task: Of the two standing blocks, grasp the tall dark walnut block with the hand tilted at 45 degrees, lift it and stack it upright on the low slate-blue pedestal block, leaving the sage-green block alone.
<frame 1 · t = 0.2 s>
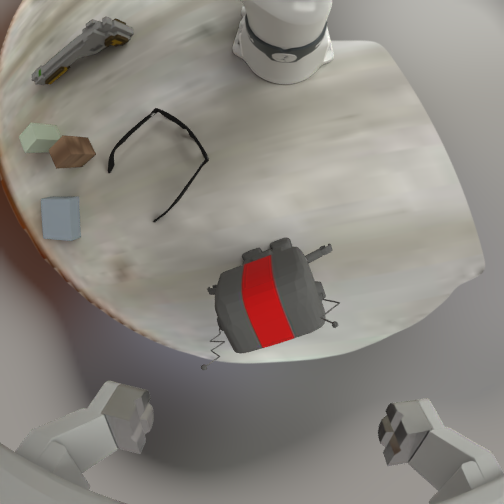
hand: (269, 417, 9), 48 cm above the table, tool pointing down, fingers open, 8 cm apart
glasses: (160, 163, 54), on the table
sage block: (53, 138, 53), on the table
toy: (86, 56, 48), on the table
walnut block: (84, 152, 53), on the table
slate pedestal: (65, 216, 58), on the table
toy robot: (269, 257, 57), on the table
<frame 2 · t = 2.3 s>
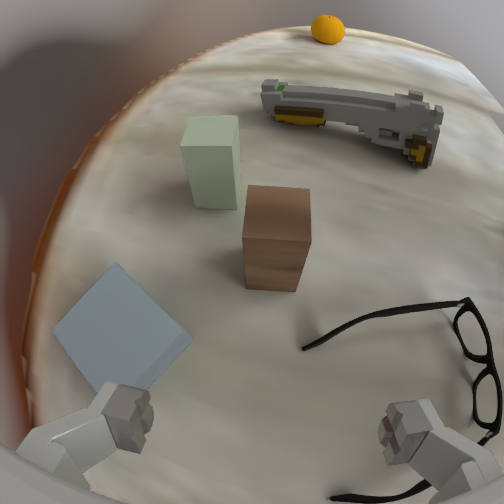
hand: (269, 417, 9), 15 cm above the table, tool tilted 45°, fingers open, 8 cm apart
glasses: (406, 399, 22), on the table
sage block: (219, 192, 33), on the table
toy: (348, 137, 38), on the table
orange: (326, 42, 56), on the table
walnut block: (271, 268, 28), on the table
slate pedestal: (128, 342, 25), on the table
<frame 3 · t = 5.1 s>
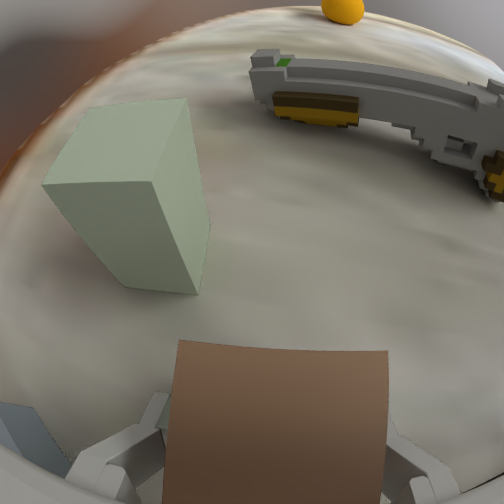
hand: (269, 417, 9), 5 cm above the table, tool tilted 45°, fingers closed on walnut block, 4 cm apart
sage block: (167, 255, 17), on the table
toy: (390, 146, 23), on the table
orange: (340, 22, 41), on the table
walnut block: (263, 425, 13), on the table, touching gripper
slate pedestal: (42, 497, 9), on the table
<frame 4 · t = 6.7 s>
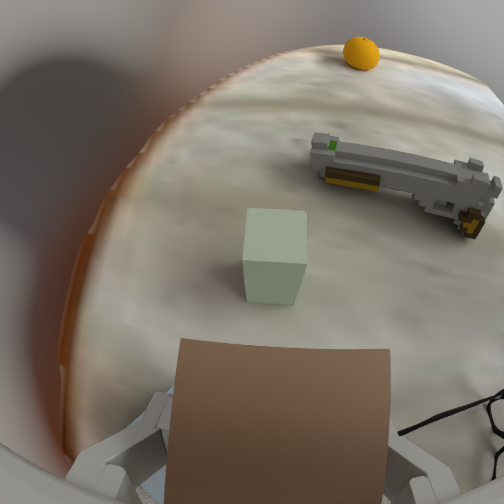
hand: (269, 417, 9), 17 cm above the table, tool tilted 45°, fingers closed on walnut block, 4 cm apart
glasses: (440, 475, 19), on the table
sage block: (271, 282, 30), on the table
toy: (398, 200, 35), on the table
orange: (358, 67, 53), on the table
walnut block: (263, 424, 13), point 12 cm above the table, touching gripper
slate pedestal: (187, 450, 22), on the table
when the fingers open (10 cm above the table, at t = 8.7 s): walnut block drops 2 cm, resting on slate pedestal.
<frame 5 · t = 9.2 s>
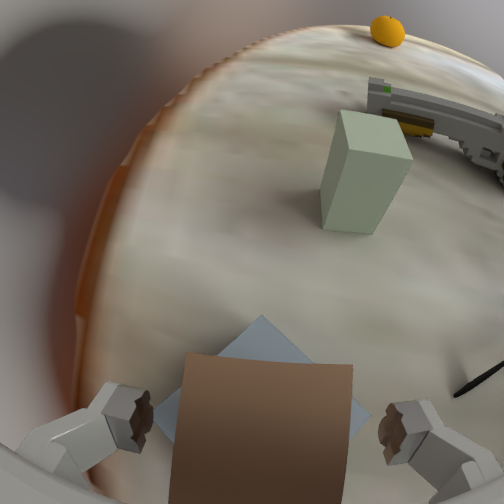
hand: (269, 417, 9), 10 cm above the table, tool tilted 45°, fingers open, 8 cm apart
sage block: (345, 210, 26), on the table
toy: (445, 152, 31), on the table
orange: (384, 44, 50), on the table
walnut block: (258, 423, 14), point 4 cm above the table, touching slate pedestal
slate pedestal: (259, 419, 18), on the table, touching walnut block
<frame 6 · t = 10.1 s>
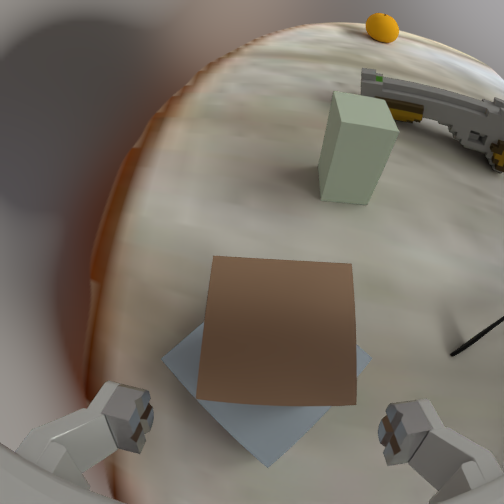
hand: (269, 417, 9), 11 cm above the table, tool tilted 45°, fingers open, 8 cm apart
sage block: (341, 184, 28), on the table
toy: (435, 136, 33), on the table
orange: (379, 40, 52), on the table
walnut block: (267, 367, 16), point 4 cm above the table, touching slate pedestal
slate pedestal: (265, 370, 20), on the table, touching walnut block
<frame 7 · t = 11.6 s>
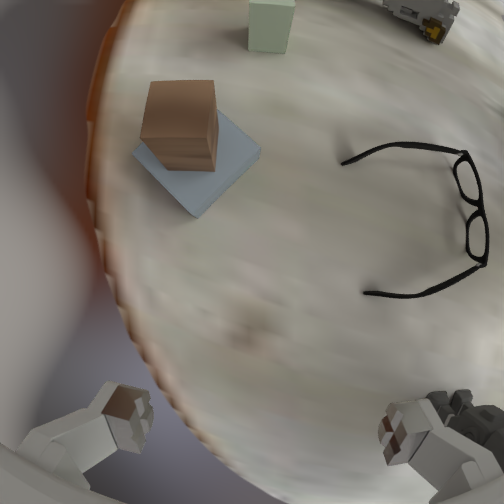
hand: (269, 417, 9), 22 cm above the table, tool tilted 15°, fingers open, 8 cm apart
glasses: (417, 217, 32), on the table
sage block: (267, 39, 30), on the table
toy: (371, 6, 31), on the table
walnut block: (193, 148, 27), point 4 cm above the table, touching slate pedestal
slate pedestal: (199, 160, 31), on the table, touching walnut block
toy robot: (444, 406, 32), on the table
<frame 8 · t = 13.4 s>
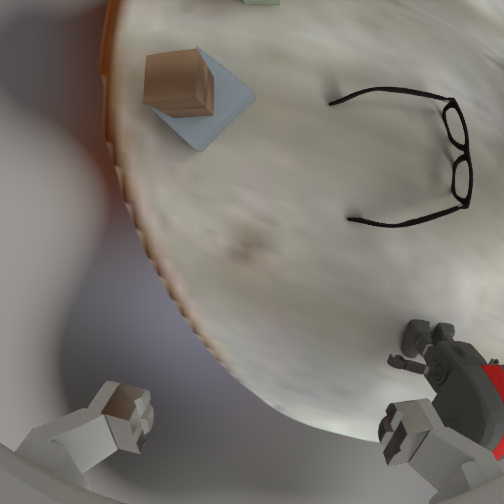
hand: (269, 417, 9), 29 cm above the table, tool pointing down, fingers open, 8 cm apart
glasses: (402, 155, 33), on the table
walnut block: (193, 97, 29), point 4 cm above the table, touching slate pedestal
slate pedestal: (203, 102, 33), on the table, touching walnut block
toy robot: (427, 336, 40), on the table
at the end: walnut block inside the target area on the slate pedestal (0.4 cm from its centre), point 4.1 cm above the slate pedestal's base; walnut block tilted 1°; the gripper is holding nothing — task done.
